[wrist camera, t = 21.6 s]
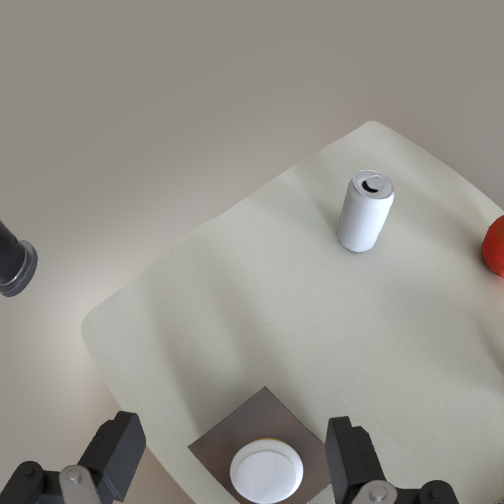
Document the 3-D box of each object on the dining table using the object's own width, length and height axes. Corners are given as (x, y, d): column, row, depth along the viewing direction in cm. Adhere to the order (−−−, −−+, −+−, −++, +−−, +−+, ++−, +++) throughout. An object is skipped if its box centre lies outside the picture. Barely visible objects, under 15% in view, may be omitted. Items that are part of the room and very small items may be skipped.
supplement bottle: (307, 454, 24) (324, 464, 16) (275, 497, 21) (277, 525, 13) (259, 427, 26) (254, 426, 17) (227, 469, 23) (207, 485, 15)
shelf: (203, 444, 31) (187, 446, 25) (266, 395, 35) (265, 386, 28) (269, 511, 26) (269, 530, 19) (332, 459, 29) (348, 466, 23)
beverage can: (327, 235, 47) (340, 179, 37) (353, 216, 49) (369, 161, 39) (357, 262, 44) (378, 209, 34) (382, 240, 46) (405, 187, 36)
